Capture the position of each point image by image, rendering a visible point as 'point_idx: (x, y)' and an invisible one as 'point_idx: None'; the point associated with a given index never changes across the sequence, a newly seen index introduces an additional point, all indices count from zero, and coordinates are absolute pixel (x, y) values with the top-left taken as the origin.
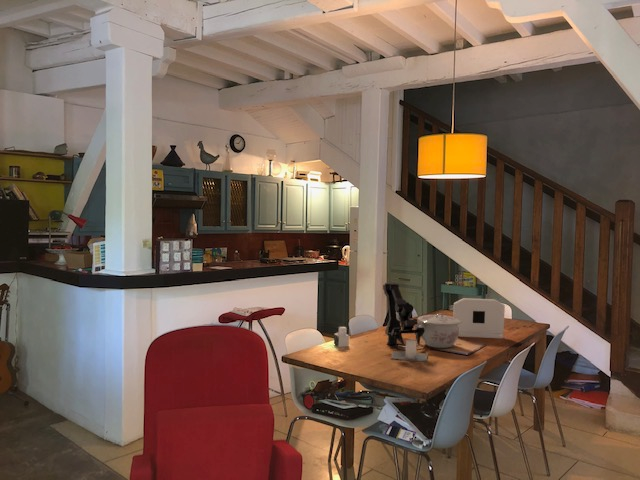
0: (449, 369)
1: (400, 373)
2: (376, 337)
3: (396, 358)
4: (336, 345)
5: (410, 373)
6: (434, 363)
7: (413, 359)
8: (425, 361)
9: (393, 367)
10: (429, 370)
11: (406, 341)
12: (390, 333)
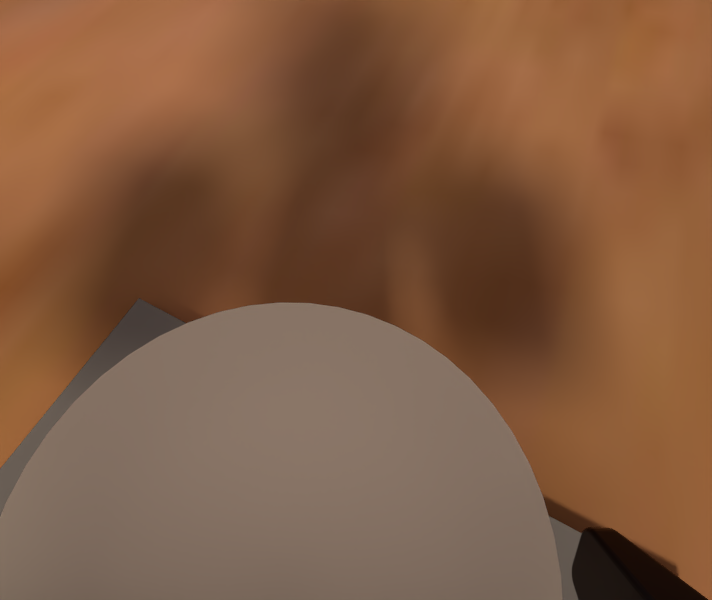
0: (55, 31)
1: (612, 37)
2: None
3: None
4: None
5: (517, 20)
6: (62, 237)
7: None
8: (151, 306)
9: (664, 192)
10: (293, 47)
11: (538, 528)
12: None
